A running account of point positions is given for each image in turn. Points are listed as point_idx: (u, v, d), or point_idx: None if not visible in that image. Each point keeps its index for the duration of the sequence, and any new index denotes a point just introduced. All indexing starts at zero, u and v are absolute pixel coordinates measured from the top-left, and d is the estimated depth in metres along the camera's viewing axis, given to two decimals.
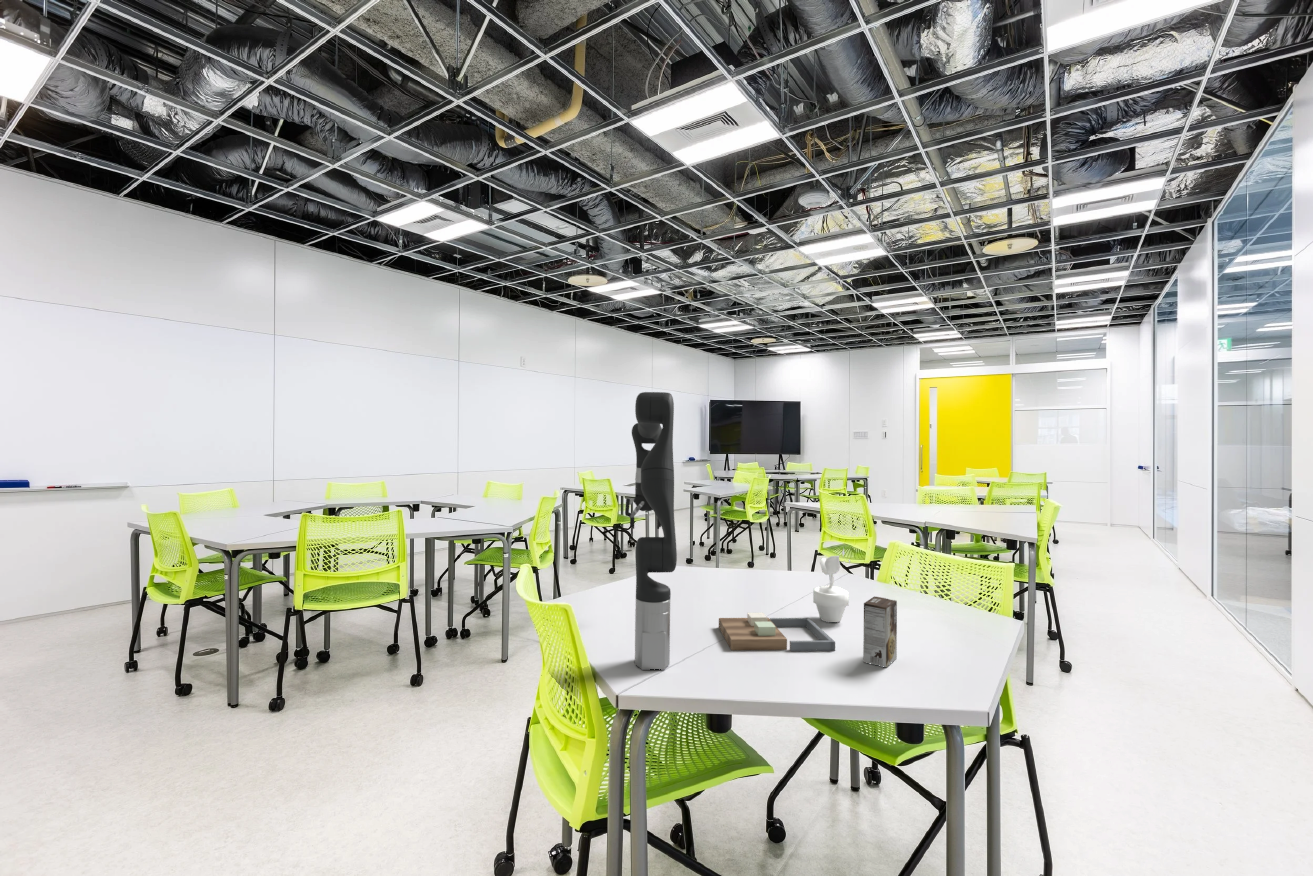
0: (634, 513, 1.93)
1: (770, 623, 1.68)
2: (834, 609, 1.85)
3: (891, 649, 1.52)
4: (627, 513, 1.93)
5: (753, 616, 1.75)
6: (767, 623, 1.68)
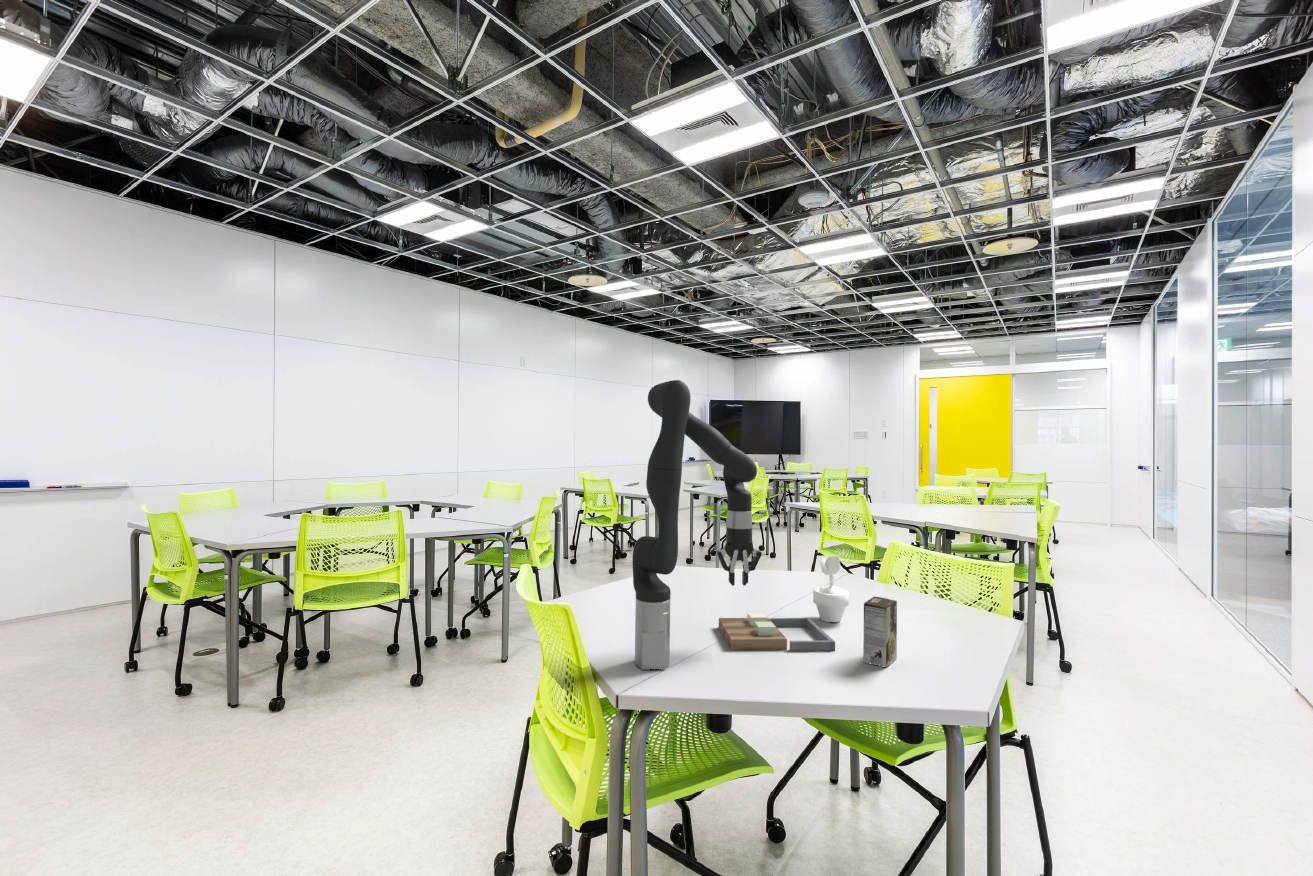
0: (733, 566, 1.65)
1: (770, 623, 1.68)
2: (834, 609, 1.85)
3: (891, 649, 1.52)
4: (726, 567, 1.65)
5: (753, 616, 1.75)
6: (767, 623, 1.68)
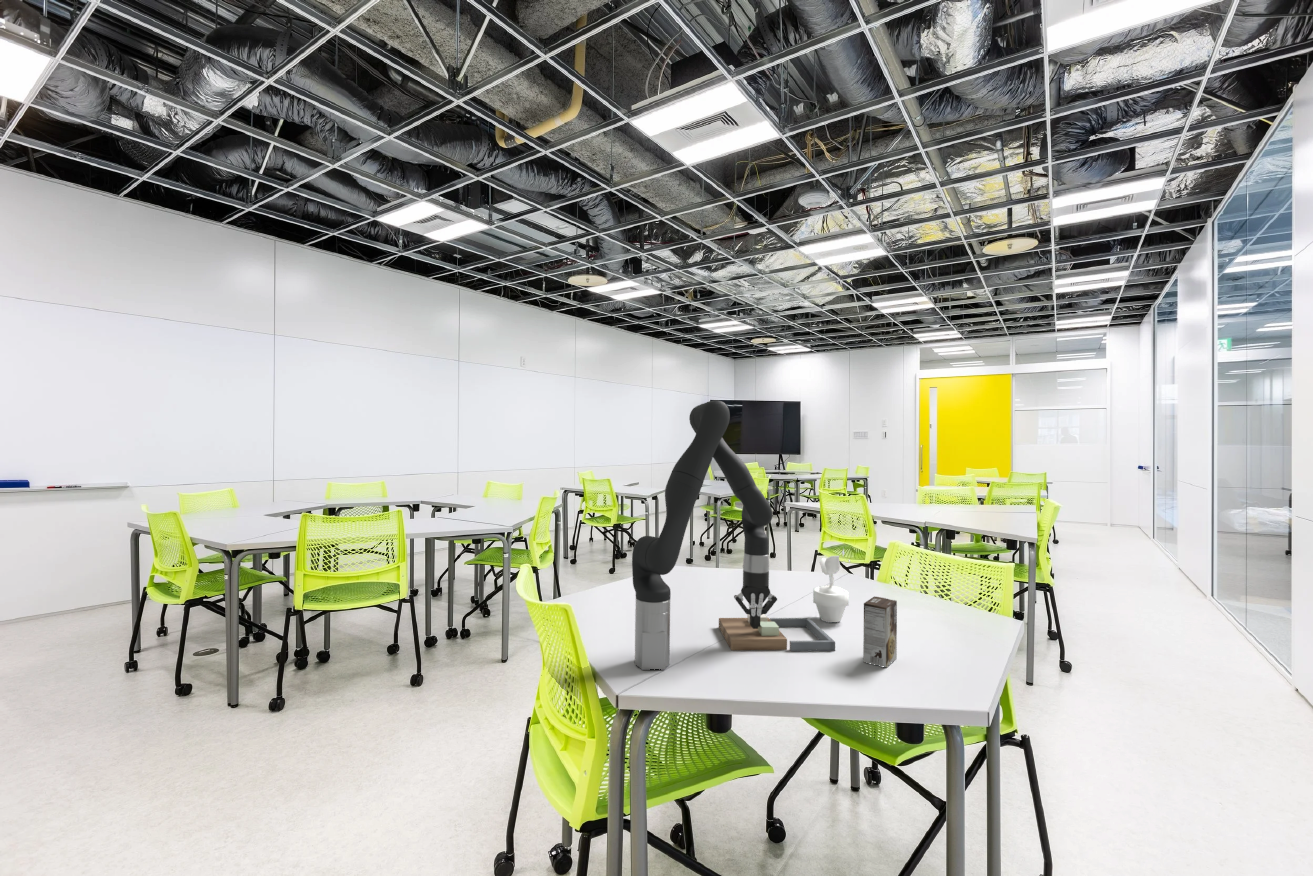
0: (753, 610, 1.66)
1: (774, 623, 1.68)
2: (834, 609, 1.85)
3: (891, 649, 1.52)
4: (748, 611, 1.66)
5: None
6: (771, 623, 1.68)
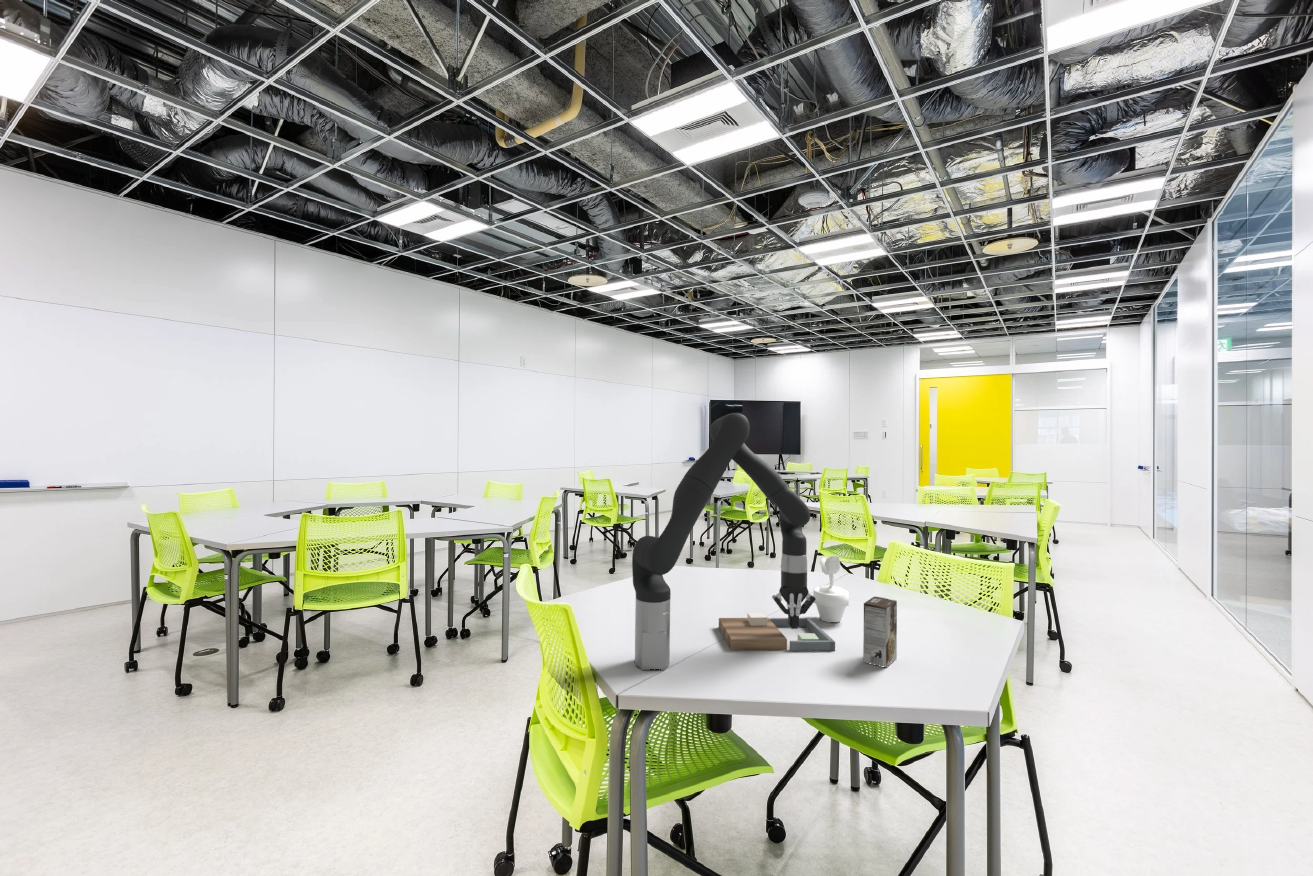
0: (792, 610, 1.66)
1: None
2: (834, 609, 1.85)
3: (891, 649, 1.52)
4: (786, 611, 1.66)
5: (753, 616, 1.75)
6: None
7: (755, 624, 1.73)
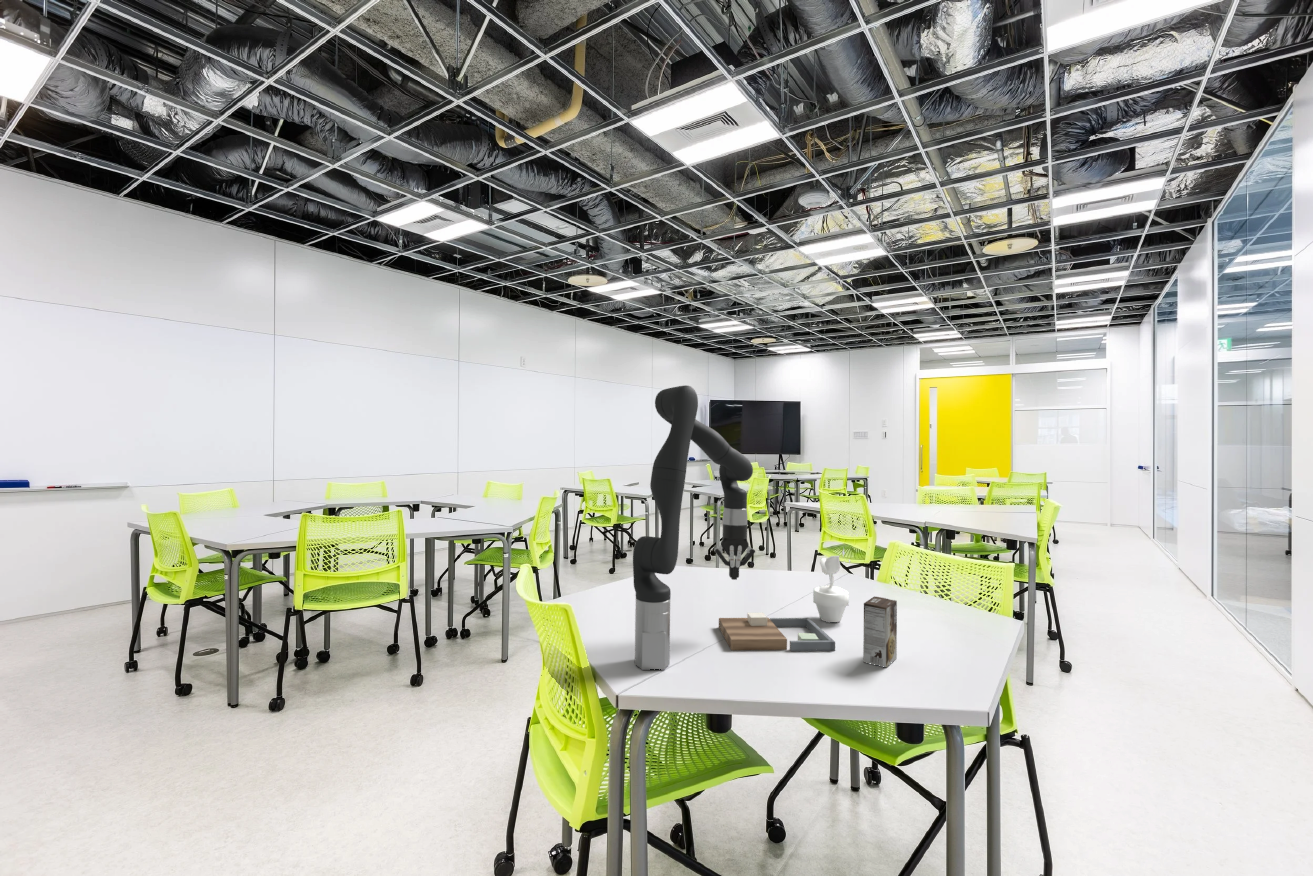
0: (732, 561, 1.74)
1: None
2: (834, 609, 1.85)
3: (891, 649, 1.52)
4: (727, 562, 1.74)
5: (753, 616, 1.75)
6: None
7: (755, 624, 1.73)
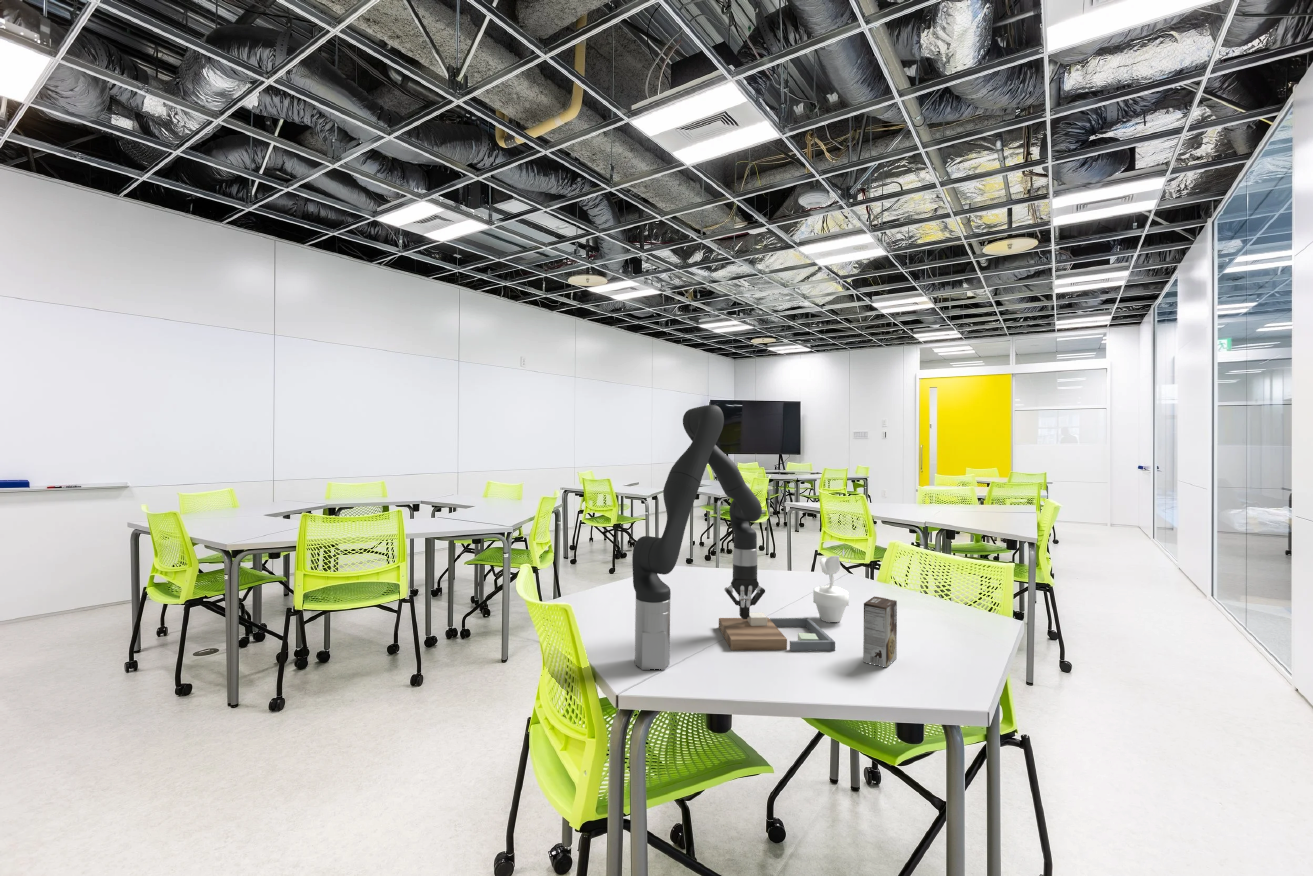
0: (742, 601, 1.75)
1: None
2: (834, 609, 1.85)
3: (891, 649, 1.52)
4: (737, 602, 1.75)
5: (753, 616, 1.75)
6: None
7: (755, 624, 1.73)
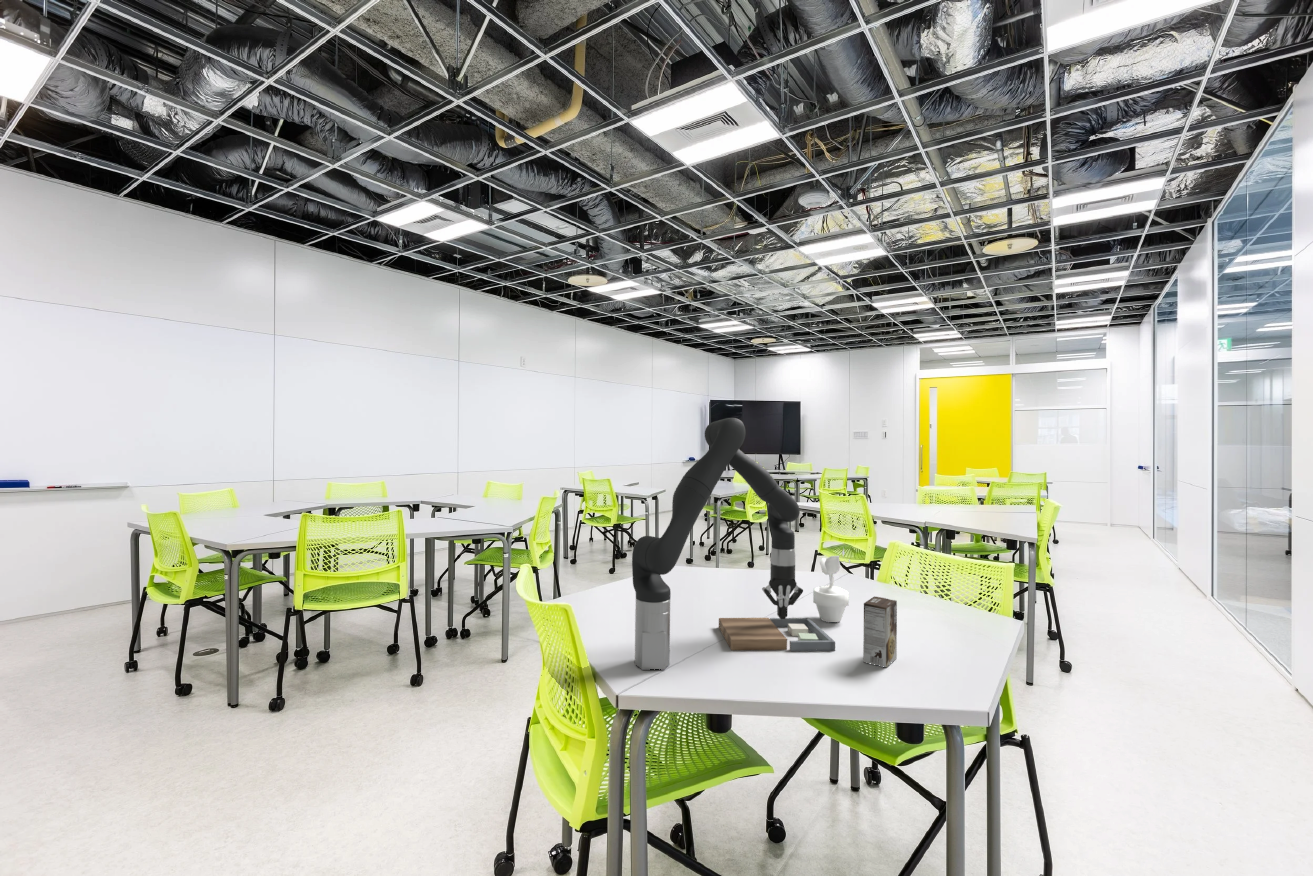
0: (781, 601, 1.75)
1: None
2: (834, 609, 1.85)
3: (891, 649, 1.52)
4: (775, 602, 1.75)
5: None
6: None
7: (804, 630, 1.74)
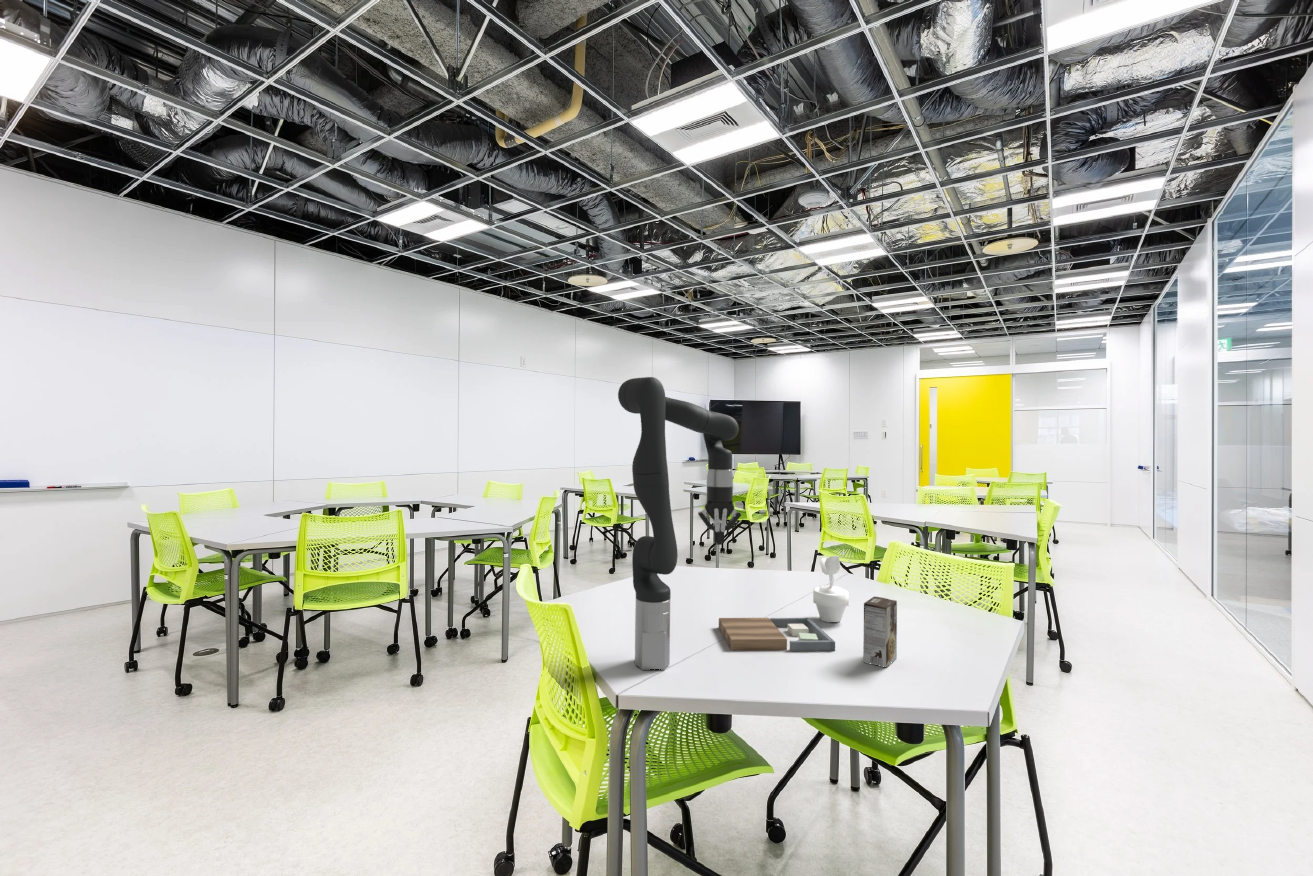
0: (717, 525, 1.65)
1: None
2: (834, 609, 1.85)
3: (891, 649, 1.52)
4: (711, 526, 1.64)
5: None
6: None
7: (804, 630, 1.74)
